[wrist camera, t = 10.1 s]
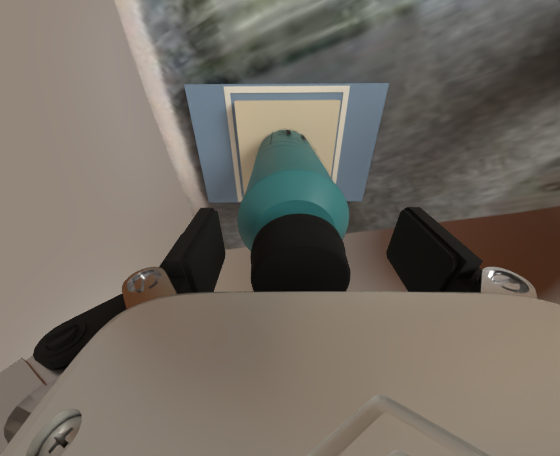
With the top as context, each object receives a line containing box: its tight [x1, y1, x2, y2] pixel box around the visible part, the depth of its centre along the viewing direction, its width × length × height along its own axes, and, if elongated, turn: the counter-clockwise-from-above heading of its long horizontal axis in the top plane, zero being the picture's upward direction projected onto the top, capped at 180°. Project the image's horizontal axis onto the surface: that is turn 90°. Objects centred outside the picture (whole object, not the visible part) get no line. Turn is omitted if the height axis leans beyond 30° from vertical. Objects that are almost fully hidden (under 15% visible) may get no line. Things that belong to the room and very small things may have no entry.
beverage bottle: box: [237, 128, 350, 292], centre depth 16 cm, size 6×7×20 cm
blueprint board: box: [184, 83, 389, 203], centre depth 26 cm, size 22×14×4 cm, turn 90°
